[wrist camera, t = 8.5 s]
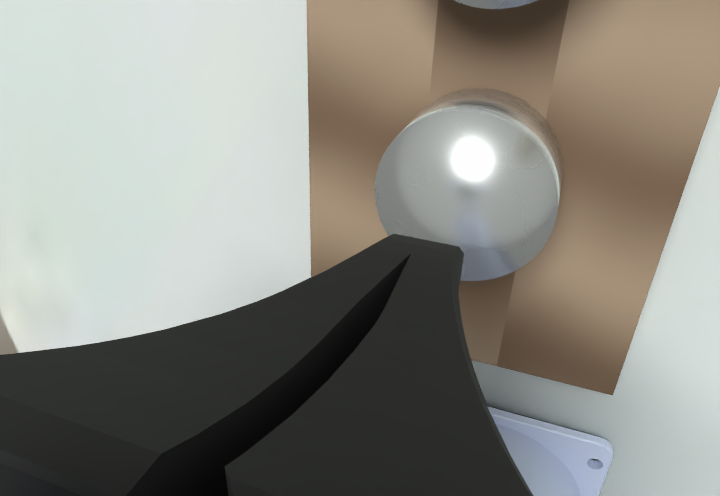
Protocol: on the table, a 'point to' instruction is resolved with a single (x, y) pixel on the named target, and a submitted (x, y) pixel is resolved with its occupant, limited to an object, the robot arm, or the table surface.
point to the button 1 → (474, 180)
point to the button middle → (495, 3)
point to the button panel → (572, 128)
